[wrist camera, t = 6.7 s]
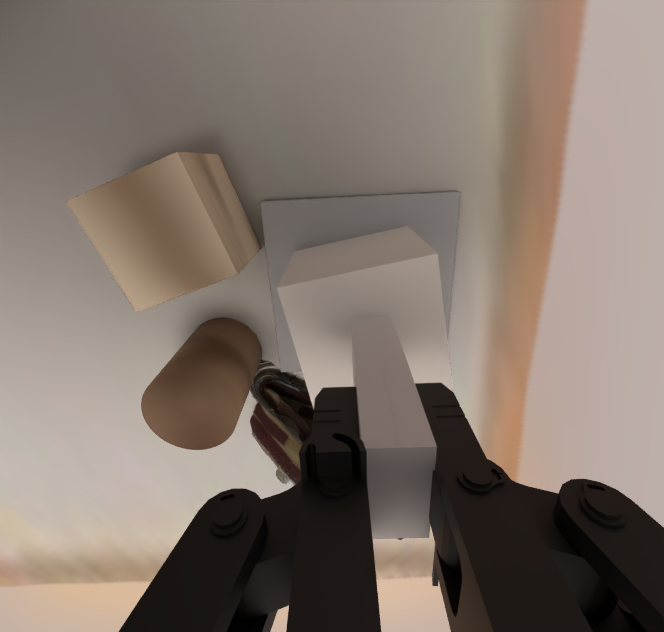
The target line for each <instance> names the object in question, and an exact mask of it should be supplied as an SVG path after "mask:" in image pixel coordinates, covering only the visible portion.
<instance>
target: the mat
mask: <svg viewBox="0 0 664 632" xmlns="http://www.w3.org/2000/svg"><path fill="white" fill-rule="evenodd" d="M460 196H461V192H459V191H447V192H428V193H408V194H388V195H369V196H349V197H330V198H310V199H291V200H271V201H261V202H260V208H261V216H262V224H263V232H264V240H265V248H266V256H267V264H268V272H269V280H270V288H271V296H272V304H273V312H274V320H275V328H276V336H277V344H278V352H279V360H280V368H281V372H298V371H302V369H301V366H300V363H299V360H298V356H297V353H296V350H295V346H294V343H293V340H292V337H291V333H290V330H289V327H288V323H287V320H286V317H285V314H284V310H283V307H282V304H281V300H280V297H279V294H278V291H277V286H278V284H279V282H280V280H281V278H282V276H283V274H284V272H285V270H286V268H287V266H288V264H289V262H290V260H291V258H292V256H293V254H294V252H295V251H298V250H302V249H307V248H311V247H316V246H320V245H325V244H329V243H334V242H338V241H342V240H347V239H351V238H356V237H360V236H365V235H369V234H374V233H378V232H382V231H387V230H391V229H396V228H400V227H405V226H408V227H409V228H410V229H411V230H413V231H414V232H415V233H416V234H417V235H418V236H419V237H420V238H421V239H422V240H424V241H425V242H426V243H427V244H428V245H429V246H430V247H431V248H432V249H433V250H435V251H436V252H437V253H438V260H439V269H440V278H441V287H442V296H443V305H444V314H445V323H446V332H447V341H448V331H449V320H450V308H451V297H452V286H453V275H454V263H455V252H456V241H457V230H458V219H459V207H460Z"/></svg>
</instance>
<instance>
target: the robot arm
mask: <svg viewBox="0 0 664 632" xmlns="http://www.w3.org/2000/svg"><path fill="white" fill-rule="evenodd" d="M351 328H352V360H353V386H354V387H325V388H322V389H321V391H320V392H319V393H318V395H317V396H316V397H315V402H314V413H313V424H312V433H311V436H310V437H309V438H308V439H307V440H306V441H305V442H303V443H302V446H301V449H300V451H299V459H300V468H301V477H302V479H301V480H300V481H299V482H298V483H297V484H296V485H295V486H293V487H292V488H290V489H289V490H287V491H284V492H282V493H280V494H277V495H274V496H271V497H267V498H264V499H260V497H259V496H258V495H257V494H256V493H255V492H252V491H250V490H247V489H230V490H227V491H224V492H221V493H219V494H217V495H216V496H214V497H213V498H211V499H209V500H208V501H207V502H206V503H205V504H204V505H203V507H202V508H201V509H200V510H199V511H198V512H197V514H196V516H195V517H194V519H193V520H192V522H191V523H190V525H189V526H188V528H187V529H186V531H185V532H184V534H183V535H182V537H181V538H180V540H179V541H178V543H177V544H176V546H175V547H174V549H173V550H172V552H171V553H170V555H169V556H168V558H167V559H166V561H165V562H164V564H163V565H162V567H161V568H160V570H159V571H158V573H157V574H156V576H155V578H154V579H153V581H152V582H151V584H150V585H149V587H148V588H147V590H146V591H145V593H144V595H143V596H142V597H141V599H140V600H139V602H138V603H137V605H136V606H135V608H134V609H133V611H132V612H131V614H130V615H129V617H128V618H127V620H126V621H125V623H124V625H123V626H122V627H121V629H120V631H119V632H270V631H271V628H272V625H273V622H274V619H275V616H276V613H277V610H278V609H281V608H283V607H286V606H288V605H289V612H288V621H287V631H286V632H381V625H380V615H379V604H378V593H377V582H376V572H375V561H374V551H373V540H372V539H387V538H429V532H430V524H431V528H432V532H433V536H434V540H435V552H434V562H433V572H432V581H433V586H438V579H439V582H440V587H441V592H442V595H443V600H444V604H445V608H446V612H447V617H448V621H449V625H450V629H451V632H664V528H663V527H662V526H661V525H660V524H659V523H658V522H656V521H655V520H654V519H653V518H651V517H650V516H649V515H648V514H647V513H646V512H645V511H643V510H642V509H641V508H640V507H639V506H638V505H637V504H635V503H634V502H633V501H632V500H631V499H629V498H628V497H626V496H625V495H623V494H622V493H621V492H619V491H618V490H616V489H614V488H611V487H609V486H607V485H605V484H603V483H600V482H596V481H592V480H588V479H574V480H570V481H568V482H566V483H564V484H562V487H561V489H560V491H559V494H557V493H554V492H549V491H545V490H541V489H537V488H532V487H528V486H525V485H522V484H519V483H516V482H514V481H512V480H511V479H510V478H509V477H508V475H507V474H506V473H505V472H504V470H503V469H502V468H501V467H499V466H498V465H496V464H495V463H494V462H492V461H490V460H488V459H487V458H486V456H485V454H484V452H483V450H482V448H481V446H480V444H479V442H478V440H477V439H476V437H475V435H474V433H473V431H472V429H471V427H470V425H469V423H468V421H467V419H466V418H465V415H464V413H463V411H462V409H461V407H460V405H459V403H458V401H457V399H456V397H455V395H454V393H453V392H452V391H451V390H450V389H448V388H447V387H446V386H445V385H444V384H442V383H415V382H414V380H413V377H412V374H411V371H410V368H409V365H408V362H407V359H406V357H405V354H404V351H403V348H402V345H401V342H400V339H399V337H398V334H397V331H396V328H395V325H394V322H393V319H392V317H370V318H351Z"/></svg>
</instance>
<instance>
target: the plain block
mask: <svg viewBox="0 0 664 632" xmlns="http://www.w3.org/2000/svg"><path fill="white" fill-rule="evenodd" d="M277 291H278V294H279V297H280V300H281V304H282V307H283V310H284V314H285V317H286V320H287V323H288V327H289V330H290V333H291V337H292V340H293V343H294V346H295V350H296V353H297V356H298V360H299V363H300V366H301V369H302V373H303V376H304V379H305V382H306V386H307V389H308V392H309V396H310V399H311V402H312V405H313V409H314V402H315V397H316V396H317V395H318V393H319V392H320V391H321V389H322V388H325V387H354V386H353V360H352V328H351V318H370V317H392V319H393V322H394V325H395V328H396V331H397V334H398V337H399V339H400V342H401V345H402V348H403V351H404V354H405V357H406V359H407V362H408V365H409V368H410V371H411V374H412V377H413V380H414V382H415V383H442V384H444V385H445V386H446V387H447V388H448V389H450V390H451V391H452V390H453V385H452V376H451V368H450V359H449V350H448V341H447V332H446V323H445V314H444V305H443V296H442V287H441V278H440V269H439V260H438V253H437V252H436V251H435V250H433V249H432V248H431V247H430V246H429V245H428V244H427V243H426V242H425V241H424V240H422V239H421V238H420V237H419V236H418V235H417V234H416V233H415V232H414V231H413V230H411V229H410V228H409V227H408V226H405V227H400V228H396V229H391V230H387V231H382V232H378V233H374V234H369V235H365V236H360V237H356V238H351V239H347V240H342V241H338V242H334V243H329V244H325V245H320V246H316V247H311V248H307V249H302V250H298V251H295V252H294V254H293V256H292V258H291V260H290V262H289V264H288V266H287V268H286V270H285V272H284V274H283V276H282V278H281V280H280V282H279V284H278V286H277Z"/></svg>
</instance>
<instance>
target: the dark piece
mask: <svg viewBox="0 0 664 632" xmlns="http://www.w3.org/2000/svg"><path fill="white" fill-rule="evenodd" d="M250 391H251V393H252V395H253V397H254V398H255V399H256V400H257V401H258V402H259V403H258V404H257V405H256V408H255V410H254V411H253V413H254V414H253V416H252V417H251V420H250V423H251V427H252V434H253V436H254V437H255V439H256V441H257V442H258V444H259V445H260V447H261V448H262V449H263V450H264V452H265V453H266V454H267V455H268V456H269V457H270V458H271V460H272V461H273V462H274V464H275V465H276V466H277V468H278V469H277V471H276V476H277V478H278V479H279V480H280V481H281V482H282V483H284V484H286V483H288V482H289V481H291V482H292V483H293V485H294V486H295V485H296V484H297V483H298V482H299V481H300V480H301V479H302V477H301V468H300V459H299V451H300V449H301V446H302V443H303V442H305V441H306V440H307V439H308V438H309V437H310V436H311V433H312V424H313V413H314V409H313V405H312V402H311V399H310V396H309V392H308V389H307V386H306V382H305V380H303V379H300V378H298V377H297V376H294V375H291V374H290V373H286V372H281V370H279V369H278V368H277V367H275V365H274V364H272V363H271V362H264V363H260V364H259V367H258V369H257V372H256V375H255V377H254V380H253V382H252V385H251V388H250ZM397 539H399V540H401V539H403V538H397Z"/></svg>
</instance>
